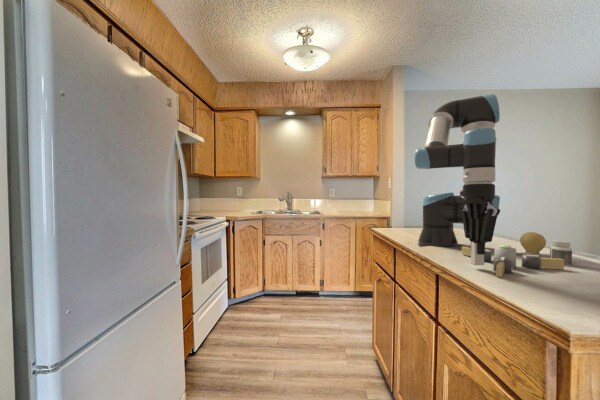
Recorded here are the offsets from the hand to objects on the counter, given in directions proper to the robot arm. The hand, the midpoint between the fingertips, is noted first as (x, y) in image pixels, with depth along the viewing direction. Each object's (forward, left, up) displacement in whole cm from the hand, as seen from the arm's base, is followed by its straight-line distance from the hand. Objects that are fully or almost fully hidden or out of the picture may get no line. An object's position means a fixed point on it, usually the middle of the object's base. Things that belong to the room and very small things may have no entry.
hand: (477, 264), depth 72 cm
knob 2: (+3, +5, -1) cm, 6 cm away
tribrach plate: (-5, +9, -3) cm, 11 cm away
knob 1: (-13, +5, -1) cm, 14 cm away
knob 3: (-5, +18, -1) cm, 19 cm away
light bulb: (-18, +23, -3) cm, 29 cm away
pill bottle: (-12, +27, -3) cm, 30 cm away
